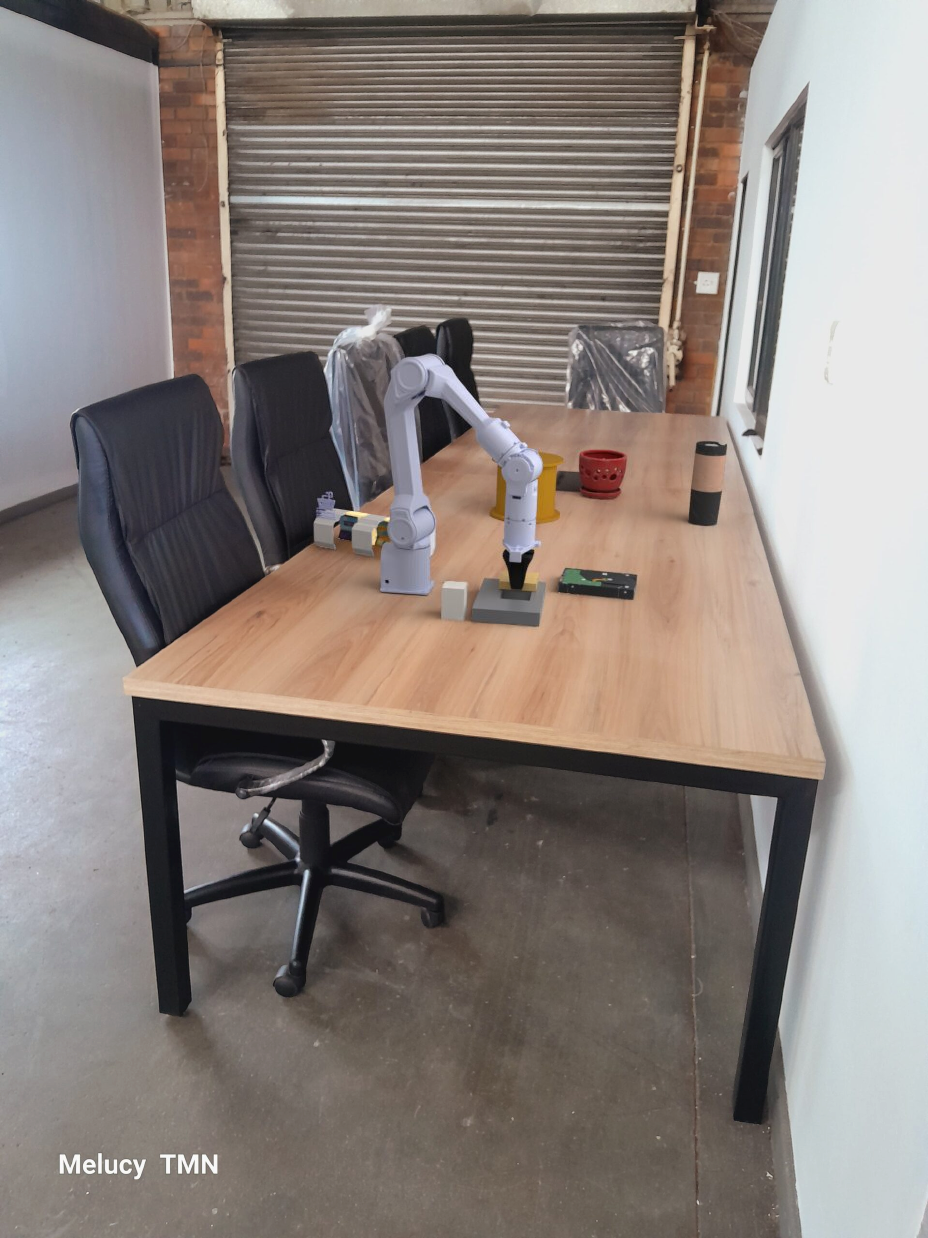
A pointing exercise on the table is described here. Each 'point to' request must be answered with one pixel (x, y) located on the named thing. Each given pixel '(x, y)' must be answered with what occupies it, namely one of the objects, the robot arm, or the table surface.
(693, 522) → the travel mug
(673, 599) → the table surface
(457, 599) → the plug
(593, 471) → the plant pot
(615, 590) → the disk drive
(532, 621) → the socket plate
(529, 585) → the yellow flat square block
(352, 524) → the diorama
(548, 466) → the spool
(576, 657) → the table surface
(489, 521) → the table surface
